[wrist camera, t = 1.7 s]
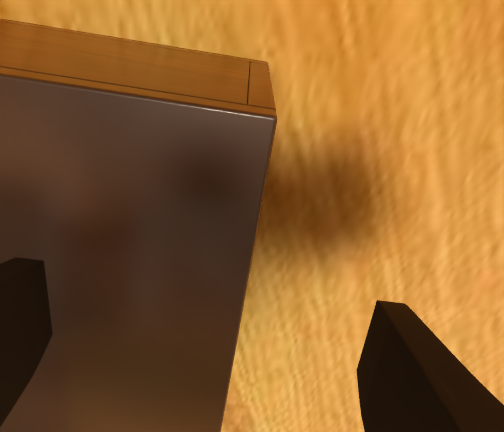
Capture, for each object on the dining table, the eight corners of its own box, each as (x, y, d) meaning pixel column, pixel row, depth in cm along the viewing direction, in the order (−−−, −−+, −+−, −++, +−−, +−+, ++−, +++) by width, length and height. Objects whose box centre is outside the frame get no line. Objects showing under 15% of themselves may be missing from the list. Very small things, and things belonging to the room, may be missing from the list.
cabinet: (222, 342, 24) (207, 504, 16) (-17, 313, 23) (-148, 469, 16) (267, 62, 17) (277, 116, 10) (-62, 8, 17) (-321, 23, 9)
